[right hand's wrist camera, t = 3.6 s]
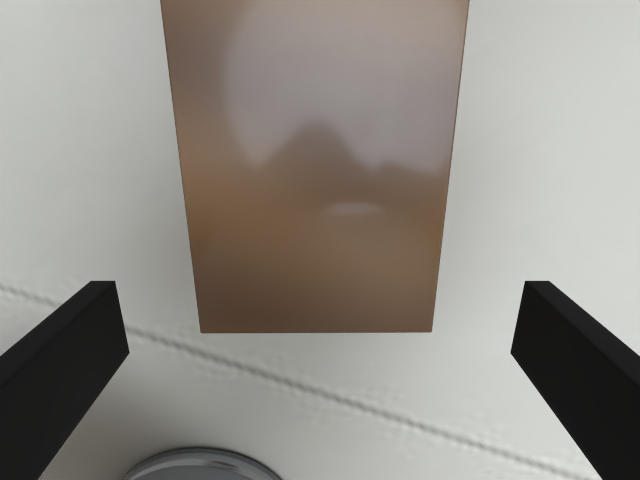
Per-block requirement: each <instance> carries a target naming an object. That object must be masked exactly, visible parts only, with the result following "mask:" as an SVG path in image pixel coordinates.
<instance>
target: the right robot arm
mask: <svg viewBox="0 0 640 480" xmlns="http://www.w3.org/2000/svg"><path fill="white" fill-rule="evenodd" d="M128 354H129V348H128V343H127V338H126V333H125V328H124V323H123V318H122V314H121V309H120V304H119V299H118V294H117V289H116V284H115V281H90V282H89V283H88V284H87V285H85V286H84V287H83V288H82V289H81V290H79V291H78V292H77V293H76V294H75V295H73V296H72V297H71V298H70V299H69V300H67V301H66V302H65V303H64V304H63V305H61V306H60V307H59V308H58V309H57V310H55V311H54V312H53V313H52V314H51V315H49V316H48V317H47V318H46V319H45V320H43V321H42V322H41V323H40V324H39V325H37V326H36V327H35V328H34V329H33V330H31V331H30V332H29V333H28V334H27V335H25V336H24V337H23V338H22V339H20V340H19V341H18V342H17V343H16V344H14V345H13V346H12V347H11V348H10V349H8V350H7V351H6V352H5V353H4V354H2V355H1V356H0V480H38V478H39V477H40V475H41V474H42V473H43V471H44V470H45V469H46V467H47V466H48V464H49V463H50V462H51V460H52V459H53V458H54V456H55V455H56V453H57V452H58V451H59V449H60V448H61V447H62V445H63V444H64V442H65V441H66V440H67V438H68V437H69V436H70V434H71V433H72V431H73V430H74V429H75V427H76V426H77V425H78V423H79V422H80V420H81V419H82V418H83V416H84V415H85V414H86V412H87V411H88V409H89V408H90V407H91V405H92V404H93V402H94V401H95V400H96V398H97V397H98V396H99V394H100V393H101V391H102V390H103V389H104V387H105V386H106V385H107V383H108V382H109V380H110V379H111V378H112V376H113V375H114V374H115V372H116V371H117V369H118V368H119V367H120V365H121V364H122V363H123V361H124V360H125V358H126V357H127V356H128ZM511 354H512V356H513V357H514V358H515V360H516V361H517V363H518V364H519V365H520V367H521V368H522V369H523V371H524V372H525V374H526V375H527V376H528V378H529V379H530V380H531V382H532V383H533V385H534V386H535V387H536V389H537V390H538V391H539V393H540V394H541V396H542V397H543V398H544V400H545V401H546V402H547V404H548V405H549V407H550V408H551V409H552V411H553V412H554V414H555V415H556V416H557V418H558V419H559V420H560V422H561V423H562V425H563V426H564V427H565V429H566V430H567V431H568V433H569V434H570V436H571V437H572V438H573V440H574V441H575V442H576V444H577V445H578V447H579V448H580V449H581V451H582V452H583V453H584V455H585V456H586V458H587V459H588V460H589V462H590V463H591V464H592V466H593V467H594V469H595V470H596V471H597V473H598V474H599V475H600V477H601V478H602V480H640V356H639V355H638V354H636V353H635V352H634V351H633V350H632V349H630V348H629V347H628V346H627V345H626V344H624V343H623V342H622V341H621V340H620V339H618V338H617V337H616V336H615V335H613V334H612V333H611V332H610V331H609V330H607V329H606V328H605V327H604V326H603V325H601V324H600V323H599V322H598V321H597V320H595V319H594V318H593V317H592V316H591V315H589V314H588V313H587V312H586V311H585V310H583V309H582V308H581V307H580V306H579V305H577V304H576V303H575V302H574V301H573V300H571V299H570V298H569V297H568V296H567V295H565V294H564V293H563V292H562V291H561V290H559V289H558V288H557V287H556V286H555V285H553V284H552V283H551V282H550V281H525V284H524V289H523V294H522V299H521V304H520V309H519V314H518V318H517V323H516V328H515V333H514V338H513V343H512V348H511ZM123 480H280V479H279V478H278V477H277V476H276V475H274V474H273V473H272V472H271V471H269V470H268V469H267V468H265V467H263V466H262V465H260V464H258V463H256V462H254V461H252V460H250V459H248V458H245V457H243V456H240V455H237V454H234V453H230V452H226V451H220V450H214V449H201V448H193V449H181V450H174V451H169V452H165V453H162V454H159V455H156V456H154V457H151V458H149V459H147V460H145V461H143V462H142V463H140V464H138V465H137V466H136V467H134V468H133V469H132V470H131V471H130V472H129V473H128V474H127V475H126V476H125V477H124V478H123Z"/></svg>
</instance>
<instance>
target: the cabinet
mask: <svg viewBox="0 0 640 480" xmlns="http://www.w3.org/2000/svg"><path fill="white" fill-rule="evenodd" d="M160 3H161V11H162V19H163V27H164V35H165V44H166V52H167V60H168V68H169V76H170V85H171V93H172V101H173V109H174V118H175V126H176V134H177V142H178V150H179V159H180V167H181V175H182V183H183V191H184V200H185V208H186V216H187V224H188V232H189V241H190V249H191V257H192V265H193V273H194V282H195V290H196V298H197V306H198V315H199V323H200V331H201V333H397V332H432V325H433V316H434V307H435V298H436V290H437V281H438V272H439V263H440V255H441V246H442V237H443V228H444V219H445V211H446V202H447V193H448V184H449V176H450V167H451V158H452V149H453V140H454V132H455V123H456V114H457V105H458V97H459V88H460V79H461V70H462V61H463V53H464V44H465V35H466V26H467V17H468V9H469V0H160Z"/></svg>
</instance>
